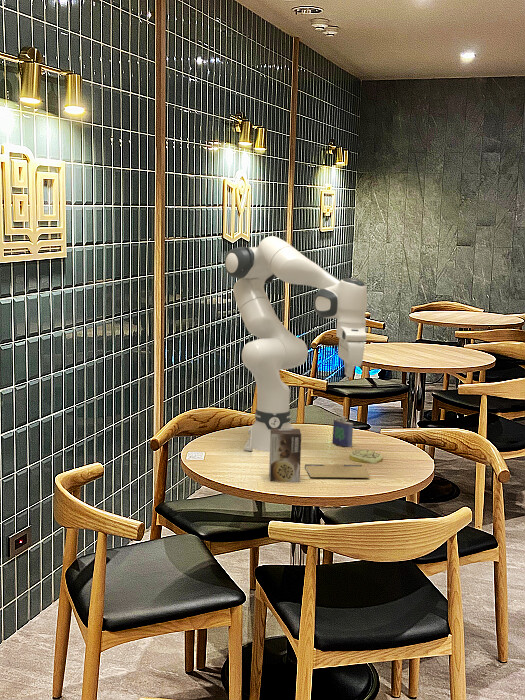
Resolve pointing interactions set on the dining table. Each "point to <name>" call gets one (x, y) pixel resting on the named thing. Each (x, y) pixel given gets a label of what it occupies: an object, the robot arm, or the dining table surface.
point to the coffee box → (285, 455)
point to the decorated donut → (365, 456)
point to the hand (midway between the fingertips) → (348, 376)
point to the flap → (337, 471)
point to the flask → (342, 432)
